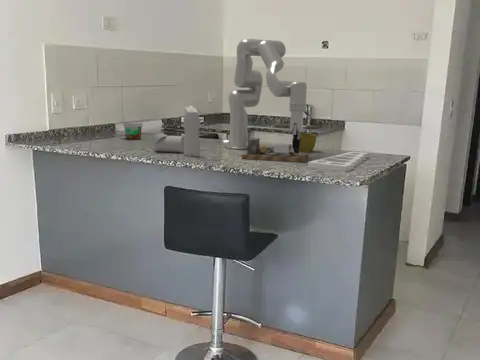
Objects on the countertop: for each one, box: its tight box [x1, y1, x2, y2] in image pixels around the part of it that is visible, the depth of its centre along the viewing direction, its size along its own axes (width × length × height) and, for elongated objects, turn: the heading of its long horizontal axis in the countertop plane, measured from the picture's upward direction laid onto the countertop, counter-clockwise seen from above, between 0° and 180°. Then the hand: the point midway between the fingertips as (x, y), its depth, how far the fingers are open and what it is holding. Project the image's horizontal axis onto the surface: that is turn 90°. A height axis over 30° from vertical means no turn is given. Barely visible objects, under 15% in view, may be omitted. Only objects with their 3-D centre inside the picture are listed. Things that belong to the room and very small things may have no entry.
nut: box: [258, 144, 268, 154], centre depth 262 cm, size 4×4×4 cm
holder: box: [307, 151, 369, 173], centre depth 251 cm, size 45×18×3 cm, turn 143°
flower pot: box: [299, 133, 318, 153], centre depth 287 cm, size 9×9×9 cm
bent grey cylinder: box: [152, 133, 185, 154], centre depth 281 cm, size 18×10×20 cm
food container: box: [122, 122, 143, 141], centre depth 326 cm, size 12×6×10 cm, turn 73°
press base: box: [241, 137, 309, 163], centre depth 260 cm, size 30×14×9 cm, turn 75°
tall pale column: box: [183, 110, 201, 158], centre depth 264 cm, size 11×4×22 cm, turn 54°
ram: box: [273, 132, 300, 154], centre depth 258 cm, size 12×8×10 cm, turn 75°
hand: (296, 146), depth 257 cm, fingers closed on ram, 3 cm apart
